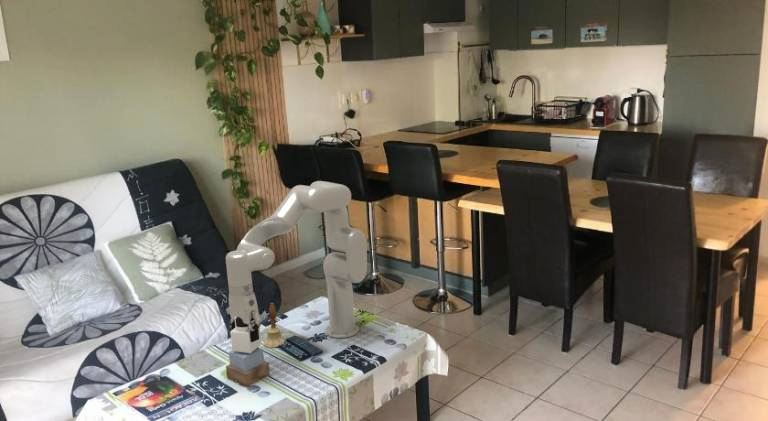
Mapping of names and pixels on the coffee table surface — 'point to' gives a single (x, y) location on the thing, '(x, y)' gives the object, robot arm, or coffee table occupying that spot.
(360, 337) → the coffee table surface
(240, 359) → the block top
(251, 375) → the block base
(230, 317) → the robot arm
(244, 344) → the medicine bottle
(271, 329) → the hand bell
